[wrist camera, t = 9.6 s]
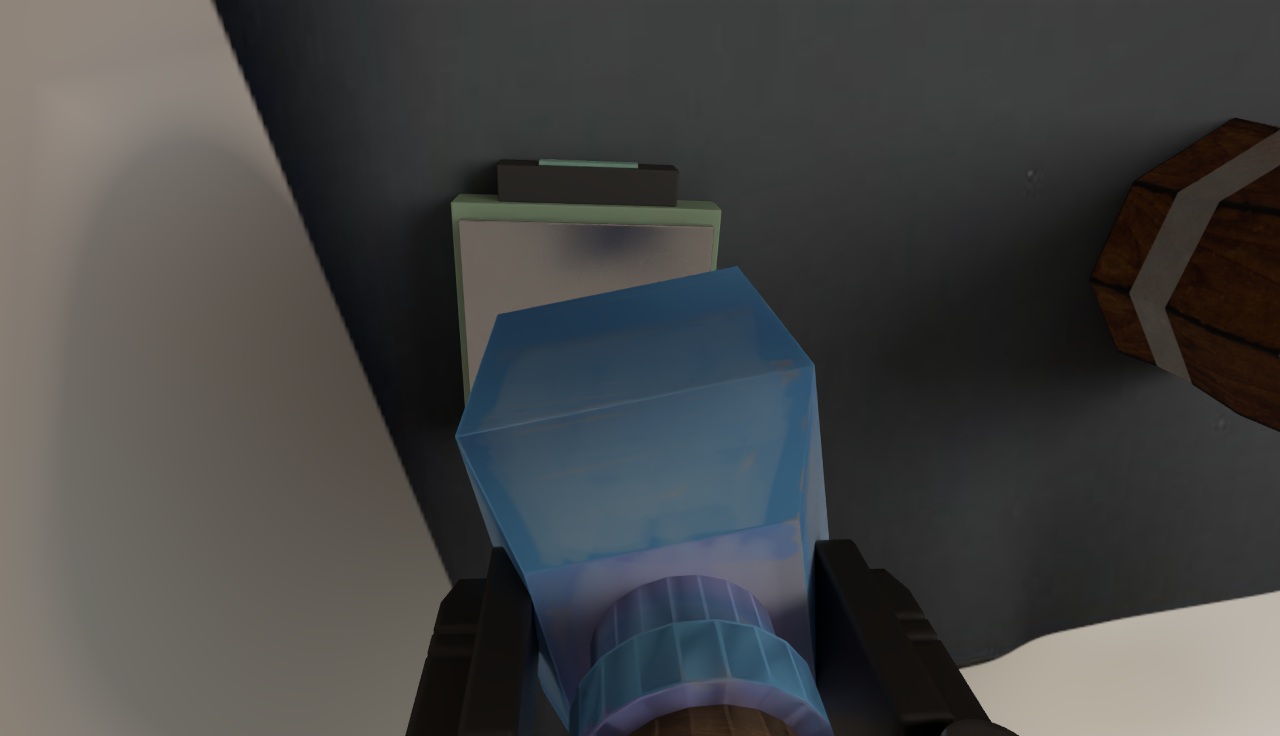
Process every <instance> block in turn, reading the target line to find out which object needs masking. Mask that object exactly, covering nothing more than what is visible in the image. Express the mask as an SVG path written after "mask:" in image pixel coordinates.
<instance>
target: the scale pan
mask: <svg viewBox="0 0 1280 736" xmlns="http://www.w3.org/2000/svg"><path fill="white" fill-rule="evenodd" d="M458 222H459V237H460V252H461V267H462V282H463V297H464V312H465V327H466V342H467V357H468V372H469V387H470V392H471V389H472V386H473V383H474V380H475V378H476V375H477V372H478V369H479V366H480V363H481V360H482V357H483V354H484V352H485V349H486V346H487V343H488V340H489V337H490V334H491V331H492V328H493V326H494V323H495V320H496V317H497V314H502V313H507V312H512V311H517V310H522V309H527V308H532V307H537V306H542V305H546V304H551V303H556V302H561V301H566V300H571V299H576V298H581V297H586V296H591V295H596V294H601V293H606V292H611V291H616V290H621V289H626V288H631V287H636V286H641V285H646V284H651V283H656V282H660V281H665V280H670V279H675V278H680V277H685V276H690V275H695V274H700V273H705V272H710V271H711V260H712V249H713V237H714V226H713V225H712V224H688V223H651V222H614V221H576V220H539V219H502V218H465V217H462V218H460V219H459V221H458Z"/></svg>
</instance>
